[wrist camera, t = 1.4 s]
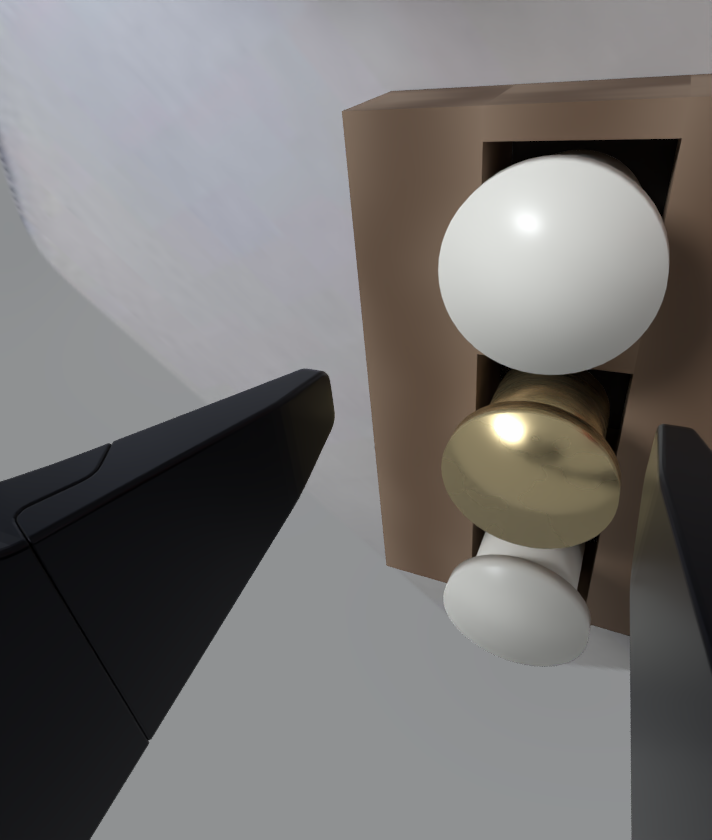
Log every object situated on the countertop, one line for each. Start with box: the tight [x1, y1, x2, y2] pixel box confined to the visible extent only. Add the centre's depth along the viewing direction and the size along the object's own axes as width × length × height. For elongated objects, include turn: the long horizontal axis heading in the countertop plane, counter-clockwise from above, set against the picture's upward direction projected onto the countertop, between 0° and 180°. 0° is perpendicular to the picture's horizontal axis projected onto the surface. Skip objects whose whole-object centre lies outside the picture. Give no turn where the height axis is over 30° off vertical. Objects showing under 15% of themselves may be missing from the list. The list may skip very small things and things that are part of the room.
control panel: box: [342, 74, 712, 636], centre depth 20 cm, size 12×18×4 cm, turn 6°
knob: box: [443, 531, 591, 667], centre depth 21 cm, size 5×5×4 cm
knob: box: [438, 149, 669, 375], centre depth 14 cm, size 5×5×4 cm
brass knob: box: [441, 369, 621, 549], centre depth 18 cm, size 5×5×4 cm
